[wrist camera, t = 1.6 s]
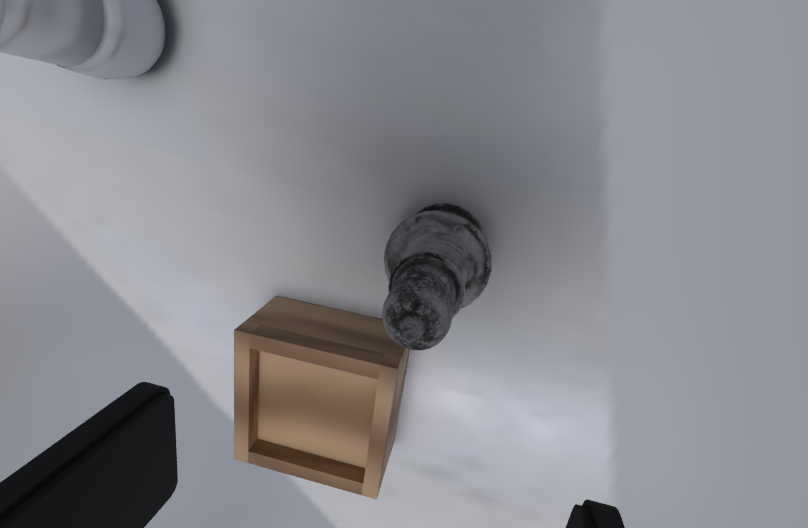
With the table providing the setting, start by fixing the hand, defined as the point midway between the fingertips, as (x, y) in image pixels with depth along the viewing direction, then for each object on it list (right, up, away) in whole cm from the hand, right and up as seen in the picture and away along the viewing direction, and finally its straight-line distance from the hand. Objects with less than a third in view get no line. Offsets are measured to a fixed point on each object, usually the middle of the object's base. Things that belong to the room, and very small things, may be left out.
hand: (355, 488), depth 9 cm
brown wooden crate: (-4, -3, +21) cm, 22 cm away
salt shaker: (+4, +6, +17) cm, 18 cm away
